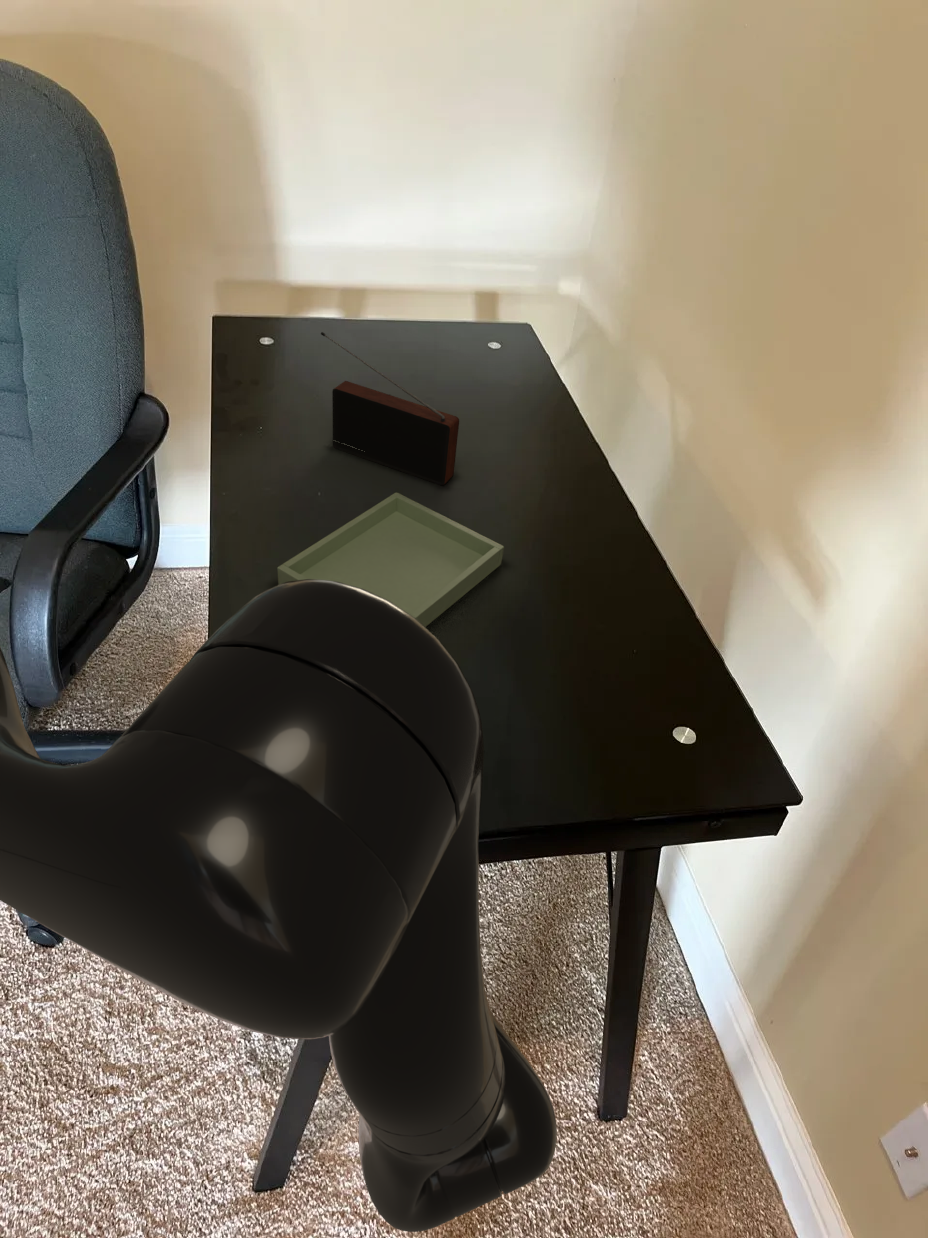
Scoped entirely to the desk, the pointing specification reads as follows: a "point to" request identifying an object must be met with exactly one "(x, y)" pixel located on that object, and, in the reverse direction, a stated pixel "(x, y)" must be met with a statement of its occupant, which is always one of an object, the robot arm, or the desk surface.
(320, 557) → the tray
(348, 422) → the radio
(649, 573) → the desk surface
